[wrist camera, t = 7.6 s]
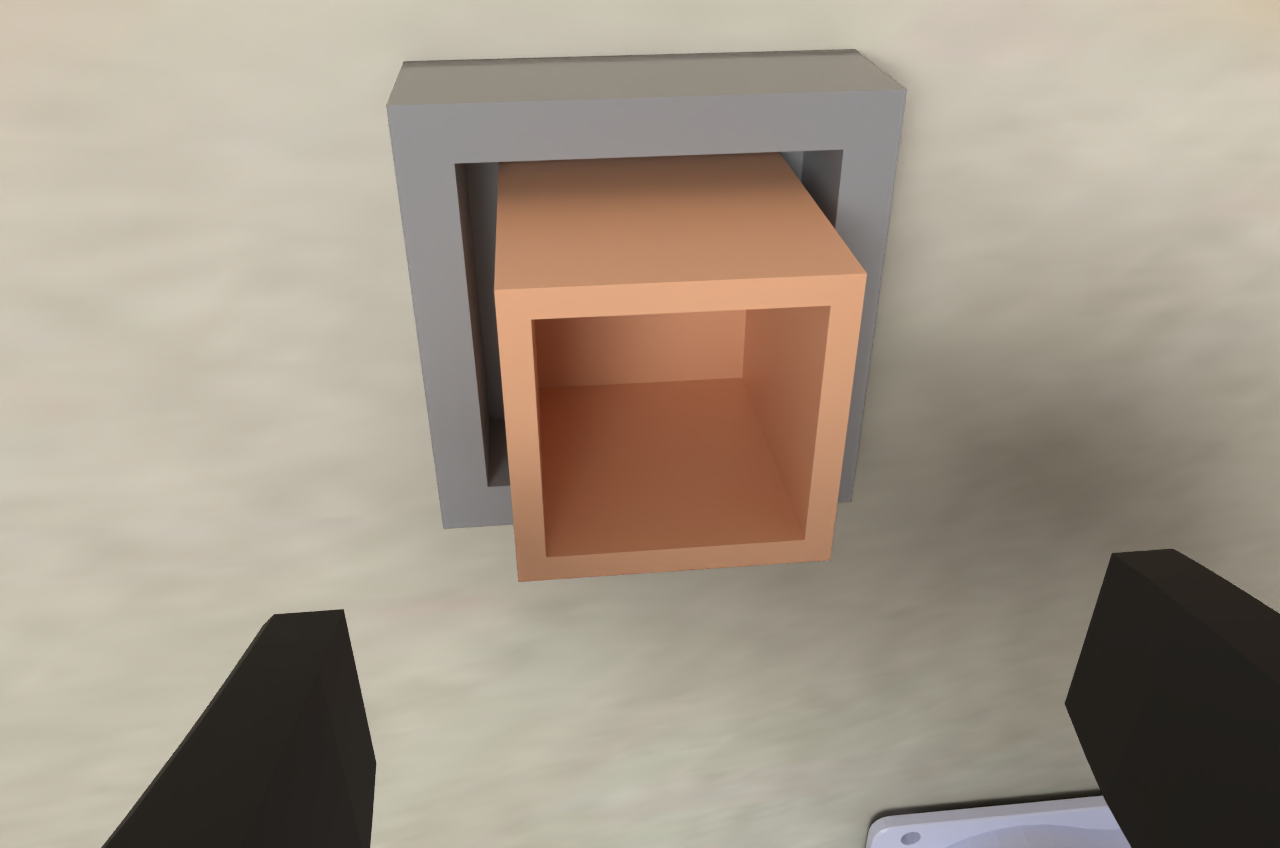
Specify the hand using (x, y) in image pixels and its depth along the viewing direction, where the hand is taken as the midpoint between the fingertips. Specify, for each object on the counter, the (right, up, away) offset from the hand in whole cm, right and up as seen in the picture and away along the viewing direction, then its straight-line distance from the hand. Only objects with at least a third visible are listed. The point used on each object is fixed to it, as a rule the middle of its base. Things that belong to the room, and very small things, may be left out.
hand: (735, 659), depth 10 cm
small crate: (-1, +5, +8) cm, 9 cm away
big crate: (-1, +5, +8) cm, 9 cm away
